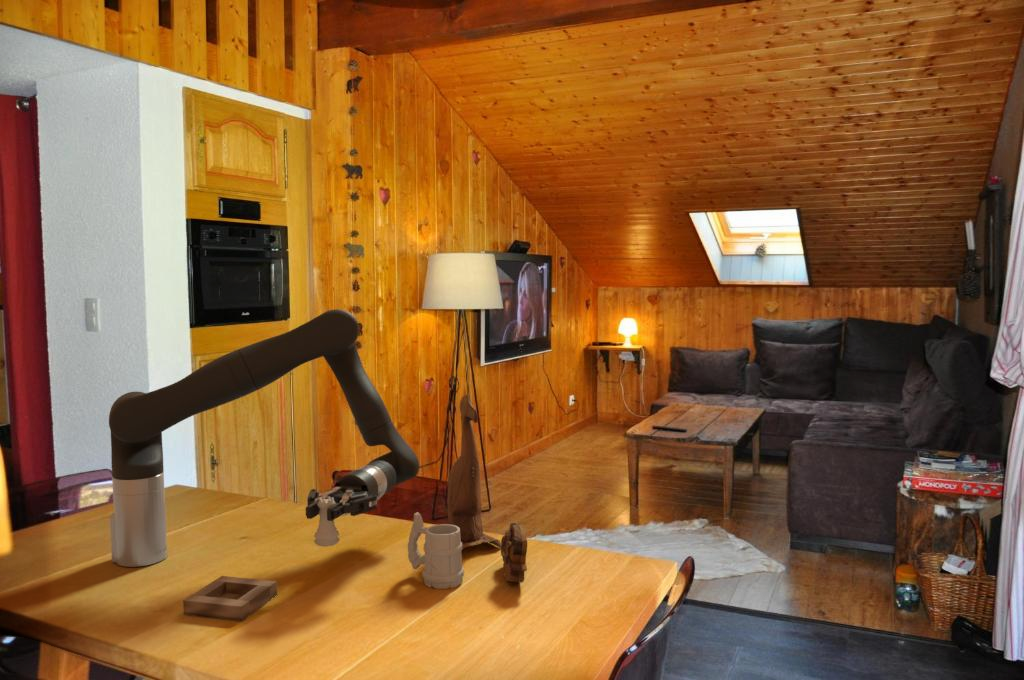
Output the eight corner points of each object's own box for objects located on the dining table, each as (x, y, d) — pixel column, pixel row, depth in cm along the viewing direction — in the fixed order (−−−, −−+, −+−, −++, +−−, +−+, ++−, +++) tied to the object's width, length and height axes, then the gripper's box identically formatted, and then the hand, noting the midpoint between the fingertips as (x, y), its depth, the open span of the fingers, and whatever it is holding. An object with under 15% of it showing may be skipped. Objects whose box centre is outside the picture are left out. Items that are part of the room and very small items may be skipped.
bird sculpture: (457, 562, 160) (460, 402, 156) (425, 545, 169) (427, 393, 165) (502, 550, 167) (506, 397, 163) (469, 534, 176) (471, 388, 172)
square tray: (183, 614, 136) (182, 600, 135) (222, 589, 146) (222, 575, 146) (241, 621, 133) (241, 606, 133) (277, 595, 144) (276, 581, 143)
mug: (448, 593, 144) (447, 527, 143) (396, 580, 150) (395, 516, 149) (472, 578, 151) (471, 515, 150) (421, 567, 157) (420, 506, 156)
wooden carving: (492, 563, 158) (492, 513, 158) (515, 561, 159) (515, 512, 159) (509, 597, 142) (509, 541, 142) (535, 594, 143) (535, 539, 142)
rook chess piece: (344, 540, 145) (344, 496, 145) (331, 548, 141) (330, 503, 140) (322, 537, 147) (322, 494, 146) (308, 545, 142) (308, 500, 142)
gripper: (327, 466, 159) (281, 489, 142) (395, 472, 155) (356, 496, 138) (328, 504, 159) (282, 531, 143) (395, 510, 156) (356, 539, 139)
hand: (319, 514), depth 141 cm, fingers closed on rook chess piece, 3 cm apart
